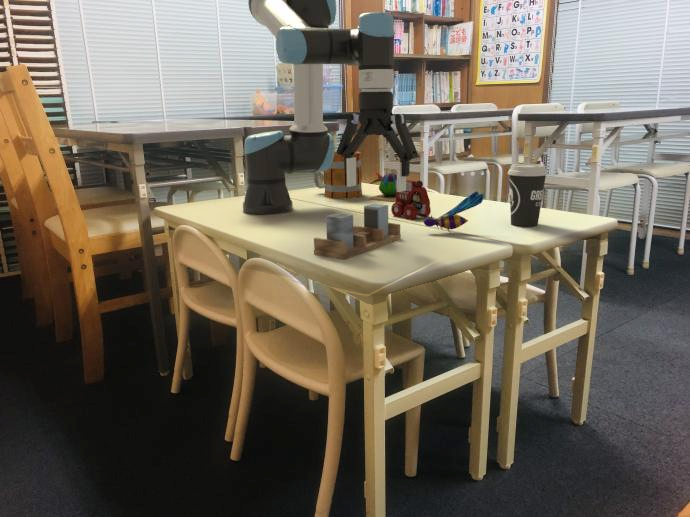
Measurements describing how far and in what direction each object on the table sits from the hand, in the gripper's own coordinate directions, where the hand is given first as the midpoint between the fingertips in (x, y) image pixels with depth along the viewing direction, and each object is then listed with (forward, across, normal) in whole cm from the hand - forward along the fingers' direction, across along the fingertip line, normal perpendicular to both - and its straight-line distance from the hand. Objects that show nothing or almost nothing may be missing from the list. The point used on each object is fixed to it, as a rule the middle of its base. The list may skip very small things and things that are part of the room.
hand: (375, 188), depth 125 cm
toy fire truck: (+13, -6, +28) cm, 31 cm away
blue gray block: (+11, +1, 0) cm, 11 cm away
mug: (+14, -48, +48) cm, 69 cm away
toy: (+12, +13, +15) cm, 23 cm away
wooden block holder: (+12, +1, -7) cm, 14 cm away
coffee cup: (+12, +24, +33) cm, 42 cm away
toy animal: (+13, -28, +50) cm, 59 cm away
